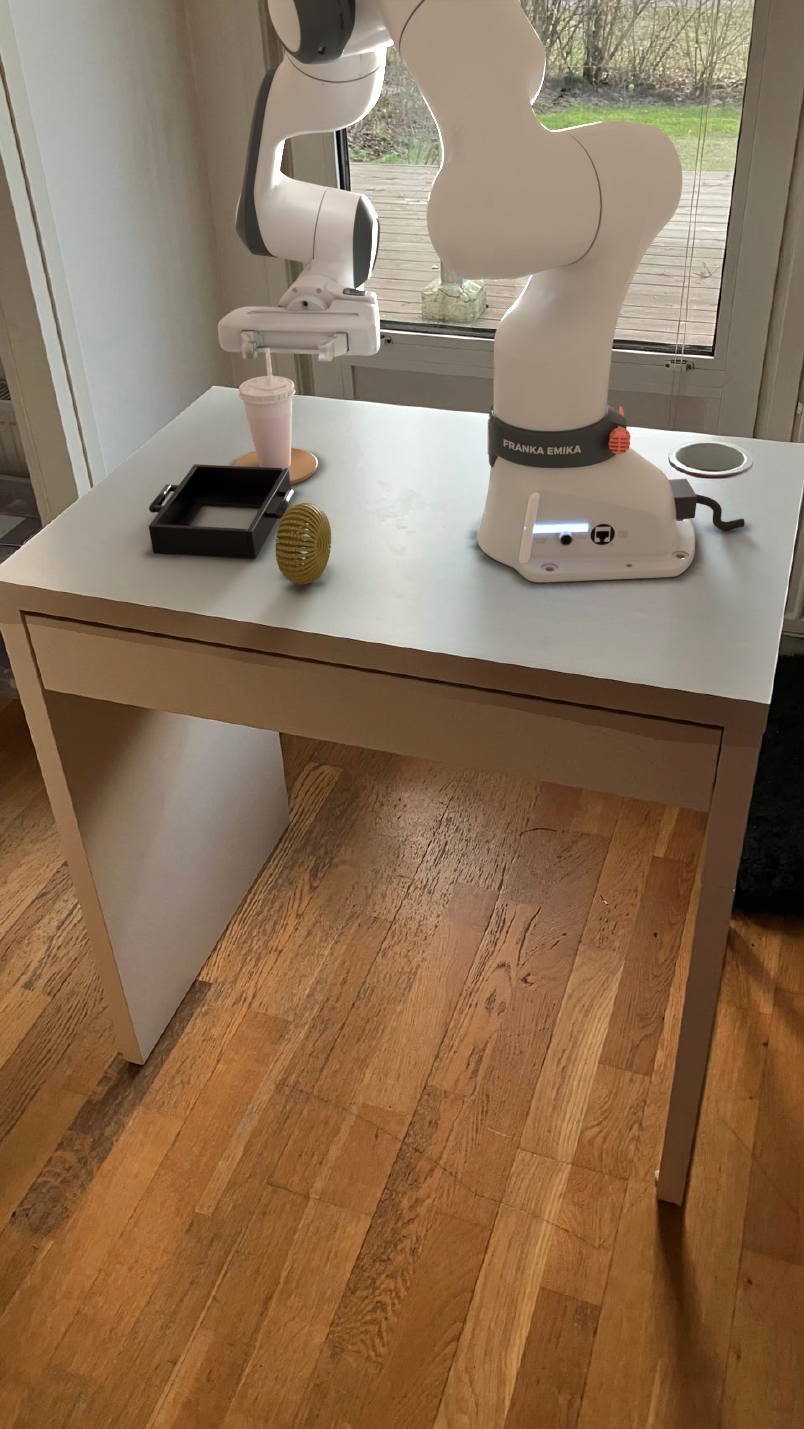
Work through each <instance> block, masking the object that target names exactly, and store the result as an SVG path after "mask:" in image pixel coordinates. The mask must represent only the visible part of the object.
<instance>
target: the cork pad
mask: <svg viewBox="0 0 804 1429" xmlns="http://www.w3.org/2000/svg"><path fill="white" fill-rule="evenodd" d="M318 463H319V462H318V459H317V457H316V456H315V455H314V454H312V453H311V452H309V451H306V450H303V449H301V448H295V447H291V463H290V466H289V467H287V468H289V474H290V484H291V485H295V484H298V483H301V482H304V481H306V480H307V479H310V477H312V476H313V475H315V473H316V472H317V470H318V466H319V464H318ZM233 466H245V467H260V466H259V462H258V458H257V454H256V450H255V451H251V452H250V453H249V452H248V453H247V454H244V455H242V456H241V457H240V458H238V459H237V460H236V461H235V462H234V465H233Z"/></svg>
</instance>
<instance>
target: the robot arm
mask: <svg viewBox="0 0 804 1429" xmlns="http://www.w3.org/2000/svg"><path fill="white" fill-rule="evenodd" d="M266 2H267V8H268V12H269V16H270V20H271V23H272V25H273V28H274V30H275V33H276V35H277V37H278V40H279V42H280V43H281V45H282V47H283V48H284V50H285V53H284V58H283V60H282V62H281V63H280V64H278V65H275V66H273V67H271V68H268V69H267V71H266V72H265V74H264V76H263V78H262V80H261V83H260V85H259V88H258V91H257V94H256V97H255V103H254V107H253V112H252V118H251V122H250V129H249V137H248V144H247V149H246V150H247V151H246V156H245V165H244V172H243V180H242V186H241V190H240V194H239V197H238V200H237V203H236V209H235V216H234V218H235V219H234V220H235V232H236V235H237V236H238V238H239V240H240V241H241V242H242V244H243V245H244V246H245V247H246V249H247V250H248V251H249V252H250V254H251V255H253V256H260V257H266V258H267V257H268V258H275V259H278V258H281V259H285V260H290V261H293V262H297V263H298V262H299V263H302V264H306V265H307V266H306V267H304V269H303V270H302V271H301V273H299V275H298V277H297V278H296V279H295V281H294V282H293V283H292V284H291V285H290V286H289V287H288V289H287V290H286V291H285V293H284V294H283V295H282V296H281V298H280V300H279V302H278V303H277V306H242V307H238V308H236V309H233V310H232V311H230V312H229V313H228V314H226V315H225V316H223V317H222V318H221V319H220V320H219V322H218V323H217V335H218V343H219V346H220V349H222V350H223V351H225V352H227V353H241V357H242V359H243V360H256V359H257V357H258V356H259V353H260V354H265V348H266V347H269V348H270V354H293V355H294V354H297V355H299V354H300V355H318V356H317V359H318V361H319V362H332V361H333V359H334V358H337V357H340V356H361V357H363V356H364V357H367V356H374V355H376V354H377V353H379V350H380V348H381V326H380V325H381V324H380V313H379V306H378V300H377V295H376V293H375V292H372V291H367V290H364V288H365V283H366V282H368V280H369V278H371V276H372V274H373V272H374V270H375V266H376V262H377V259H378V253H379V247H380V238H381V224H380V219H379V217H378V215H377V212H376V211H375V208H374V206H373V204H372V203H371V201H370V200H369V199H368V197H367V196H366V195H364V194H362V193H357V192H353V191H348V190H345V189H340V188H335V187H332V186H329V187H328V186H325V185H320V184H315V183H310V182H308V181H307V182H306V181H302V180H297V179H294V178H291V177H289V176H287V175H285V174H284V173H282V172H281V171H280V169H281V163H282V156H283V151H284V150H283V149H284V146H285V145H284V144H285V141H286V140H287V139H290V138H294V137H297V136H302V135H303V136H304V135H308V134H319V133H333V132H337V131H340V130H343V129H346V128H348V127H350V126H352V125H354V124H356V123H357V122H359V121H360V120H362V119H363V118H364V117H365V116H366V115H367V114H368V113H369V112H370V111H371V110H372V108H374V106H375V105H376V103H377V101H378V99H379V97H380V94H381V91H382V86H383V81H384V74H385V67H386V56H387V47H391V48H392V47H395V49H396V51H397V53H398V55H399V57H400V58H401V60H402V61H403V63H404V65H405V68H406V69H407V70H408V72H409V74H410V76H411V77H412V80H413V81H414V83H415V85H416V87H417V89H418V90H419V93H420V94H421V96H422V99H423V100H424V102H425V104H426V105H427V107H428V110H429V112H430V114H431V116H432V118H433V119H434V122H435V124H436V126H437V127H436V128H437V130H438V133H439V138H440V143H441V149H442V150H441V151H442V158H441V159H442V161H441V164H440V168H439V170H438V172H437V174H436V176H435V177H434V179H433V181H432V184H431V186H430V190H429V193H428V198H427V203H426V226H427V232H428V235H429V239H430V242H431V245H432V247H433V249H434V251H435V253H436V255H437V256H438V258H439V259H440V261H441V262H442V264H443V265H444V266H445V267H446V268H447V269H448V270H449V271H450V272H451V273H452V274H454V275H455V276H456V277H457V278H460V279H462V280H467V281H508V280H509V281H512V280H517V279H520V278H523V277H524V278H525V277H527V276H530V277H529V278H528V281H527V283H526V285H525V287H524V289H523V291H522V293H521V294H520V296H519V298H517V299H516V301H515V302H514V304H513V305H512V306H511V307H510V308H509V309H508V310H507V312H506V313H505V314H504V315H503V317H502V318H501V320H500V322H499V323H498V326H497V328H496V330H495V334H494V340H493V401H492V402H493V403H492V405H491V406H490V409H489V410H490V411H489V413H488V418H487V435H486V436H487V437H486V438H487V440H486V441H487V442H486V443H487V444H486V445H487V456H488V464H489V466H490V471H489V480H488V485H487V486H488V487H487V493H486V499H485V504H484V509H483V512H482V516H481V519H480V523H479V526H478V529H477V531H476V541H477V545H478V546H479V548H480V549H481V550H482V551H483V553H485V554H486V555H487V556H489V557H490V558H492V559H493V560H495V561H497V562H499V563H501V564H503V565H506V566H509V567H510V568H513V569H514V570H516V571H517V573H519V574H520V575H521V577H523V578H525V579H526V580H528V581H529V582H531V583H532V582H533V583H560V582H563V583H564V582H585V581H587V582H588V581H607V580H608V581H609V580H610V581H611V580H633V579H635V580H636V579H655V578H658V579H659V578H674V577H678V576H680V575H682V574H683V573H684V572H685V571H686V570H687V569H688V568H689V567H690V565H691V564H692V563H693V560H694V558H695V554H696V533H695V528H694V525H693V522H692V521H691V519H696V512H697V511H696V509H697V504H699V505H703V506H707V507H709V508H710V509H711V510H712V524H713V526H714V527H716V528H717V529H719V530H721V531H722V530H723V531H730V530H735V529H738V528H744V527H745V521H746V520H745V518H736V519H732V520H728V521H727V520H726V521H724V520H722V515H723V509H722V506H721V504H720V503H719V502H718V501H717V500H715V499H714V498H711V497H709V496H707V495H706V496H705V495H702V494H697V493H696V492H695V490H694V488H693V487H692V485H691V483H690V482H689V481H688V479H687V478H674V479H673V478H672V479H669V478H668V477H667V475H666V473H665V472H664V471H663V470H662V469H661V468H659V467H658V466H656V465H655V464H654V463H652V462H651V461H650V460H648V459H646V458H645V457H644V456H642V455H641V454H640V453H639V452H637V451H636V450H634V448H632V447H631V434H630V431H629V430H628V429H627V428H628V426H627V425H628V424H627V420H628V419H627V418H626V417H625V411H624V409H623V406H621V405H620V406H619V411H617V410H616V409H615V408H613V407H612V406H610V405H609V404H608V397H609V383H610V373H611V364H612V354H613V344H614V338H615V333H616V328H617V324H618V320H619V317H620V314H621V311H622V308H623V305H624V302H625V299H626V296H627V294H628V292H629V288H630V286H631V284H632V281H633V279H634V277H635V274H636V273H637V270H638V268H639V267H640V266H639V265H640V264H641V262H642V260H643V259H644V256H645V254H646V252H647V251H648V249H649V248H650V246H651V244H653V241H654V240H655V238H656V237H657V236H658V235H659V234H660V232H661V231H662V230H663V229H664V228H665V227H666V226H667V224H669V222H670V221H671V220H672V218H673V217H674V216H675V213H676V211H677V209H678V207H679V204H680V201H681V196H682V190H683V169H682V163H681V159H680V156H679V154H678V151H677V148H676V147H675V144H674V143H673V141H672V140H671V139H670V137H669V136H668V135H667V134H666V133H665V132H664V131H663V130H661V129H660V128H659V127H658V126H655V125H652V124H649V123H642V122H635V121H627V120H625V121H623V120H601V121H597V122H593V123H588V124H582V125H578V126H573V127H568V128H563V129H558V130H557V129H556V130H550V129H549V128H547V127H546V126H545V125H543V124H542V123H541V121H540V120H539V119H538V116H536V113H535V111H534V108H533V103H534V102H535V101H536V99H537V96H539V93H540V90H541V88H542V85H543V81H544V78H545V72H546V64H547V58H546V51H545V50H546V49H545V47H544V43H543V41H542V40H541V38H540V37H539V34H538V33H537V31H536V30H535V28H534V27H533V25H532V23H531V21H530V20H529V18H528V16H527V15H526V13H525V11H524V9H523V7H522V5H521V4H520V2H519V1H518V0H266Z"/></svg>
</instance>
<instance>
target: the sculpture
mask: <svg viewBox="0 0 804 1429" xmlns="http://www.w3.org/2000/svg"><path fill="white" fill-rule="evenodd" d="M331 549H332V528H331V524H330V521H329V518H328V516H327V514H326V513H325V511H323V509H322V508H320V507H319V506H317V505H316V504H313V503H310V502H300V503H297V504H295V505H293V506H291V507H290V508H289V509H288V510H286V511H285V513H284V515H283V516H282V518H281V519H280V522H279V525H278V528H277V532H276V537H275V558H276V564H277V566H278V569H279V570H280V572H281V574H282V575H283V577H284V578H285V579H286V580H288V581H289V582H292V583H293V584H297V585H307V584H311V583H313V582H314V581H316V580H318V579H319V578H320V576H321V575H322V574H323V573H324V571H325V570H326V567H327V565H328V561H329V559H330V556H331V555H330V554H331Z"/></svg>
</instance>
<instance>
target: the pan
mask: <svg viewBox="0 0 804 1429" xmlns="http://www.w3.org/2000/svg"><path fill="white" fill-rule="evenodd" d="M171 493H172V494H171ZM170 494H171V495H170ZM294 496H295V491H294V490H293V489H292V484H290V474H289V468H269V467H245V466H234V465H221V464H218V465H217V464H199V463H197V464H196V463H195V464H193V465H192V466H191V468H190V469H189V470H188V472H187V473H186V475H185V476H184V477H183V479H181V481H180V483H179V484H170V483H167V484H165V485H164V486H163V488H162V489H161V490H160V492H159V493H158V494H157V495H156V497H155V498H154V500H153V501H152V502H151V504H150V505H149V506H148V510H149V512H150V513H152V514H155V513H157V514H156V516H155V517H154V518H153V520H151V522H150V524H149V525H148V531H149V537H150V543H151V547H152V553H153V554H161V555H178V556H195V557H196V556H198V557H213V558H214V557H215V558H234V559H250V560H252V559H253V560H255V559H256V558H257V557H258V555H259V553H260V551H261V549H263V548H262V547H263V546H264V544H265V542H266V540H267V539H268V537H269V535H270V534H271V532H272V530H273V529H274V527H275V524H276V522H277V521H278V520H282V518H283V516H284V514H285V513H286V512H287V509H288V507H289V506H290V503H291V502H292V500H293V498H294ZM168 497H169V498H168ZM167 498H168V499H167ZM164 502H165V503H164ZM163 503H164V504H163ZM204 506H205V507H222V508H223V507H225V508H241V509H242V508H245V509H246V508H247V509H258V511H257V513H256V514H255V516H254V518H253V520H252V522H251V523H250V525H249V527H248V528H240V527H239V528H237V527H217V526H200V525H199V526H198V525H192V523H193V521H194V520H195V519H196V517H197V516H198V514H199V513H200V511H201V509H202V508H203V507H204Z"/></svg>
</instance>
